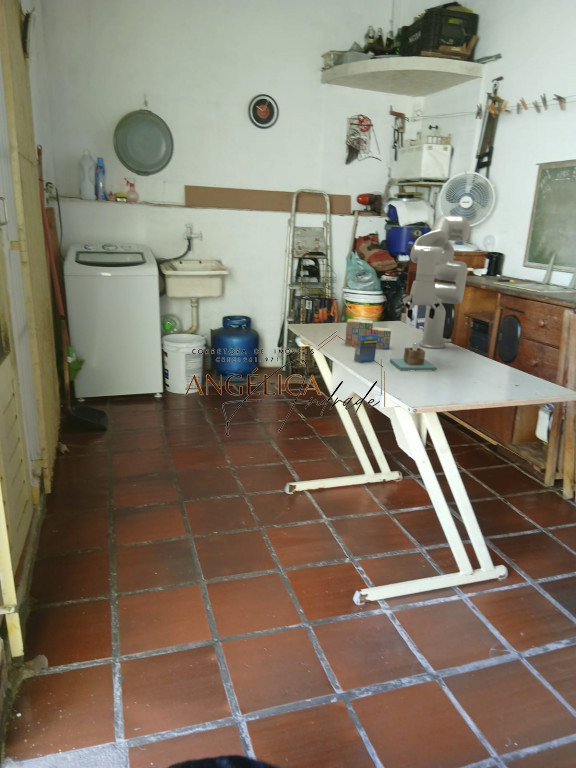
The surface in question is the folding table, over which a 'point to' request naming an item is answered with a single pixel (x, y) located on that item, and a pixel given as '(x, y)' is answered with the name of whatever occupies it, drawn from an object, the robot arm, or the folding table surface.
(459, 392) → the folding table surface
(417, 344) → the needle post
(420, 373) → the folding table surface
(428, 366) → the teal flat board
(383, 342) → the stack of blocks
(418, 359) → the hollow wooden block
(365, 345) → the label tape box
